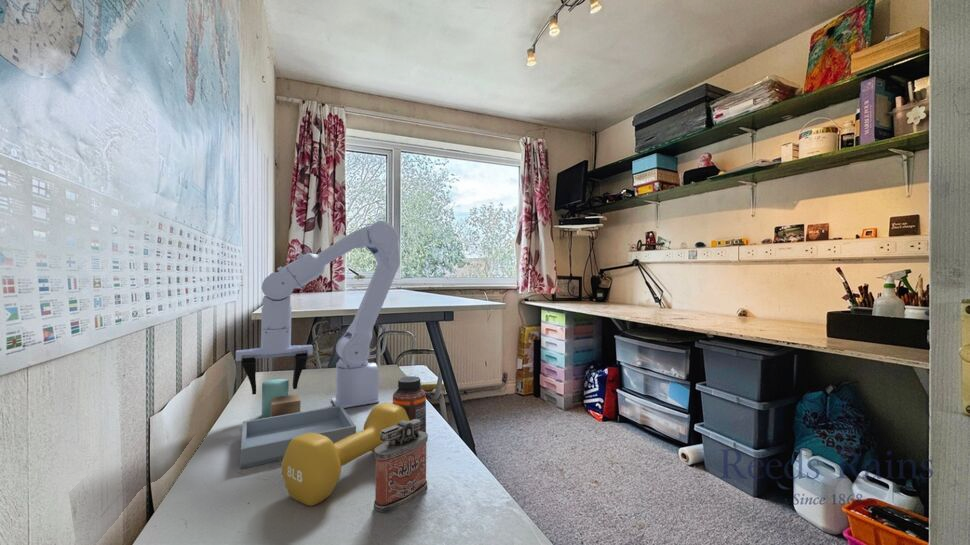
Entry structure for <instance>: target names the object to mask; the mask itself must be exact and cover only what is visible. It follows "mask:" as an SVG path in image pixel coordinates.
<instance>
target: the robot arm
mask: <svg viewBox="0 0 970 545" xmlns="http://www.w3.org/2000/svg"><path fill="white" fill-rule="evenodd" d="M364 248H367V249H368V251H370V252H371V254H372V255H373V257H374V259H375V262H376V263H377V266H376V268H375V270H374V272H373V275H372V277H371V280H370V281H369V284H368V286H367V289H366V290H365V293H364V296H363V297H362V300H361V301H360V304H359V307H358V309H357V312H356V313H355V315H354V318H353V321H352V322H351V324H350V325H349V326H348V327H347V330H346V332H345V333H344V334H343V336H342V337H340V338H339V339H338V340H337V342H336V345H335V351H336V354H337V356H338V357H339V359H338V361H337V362H336V363H335V364H336V366H335V397H332V398H331V402H332V404H334V406H339V405H342V407H343V408H344V409H347V408H351V407H358V406H363V405H370V404H375V403H380V399H379V378H380V377H379V367H378V365H377V363H376V362H369V360H368V359H369V358H370V354H371V349H370V347H371V342H372V339H373V329H374V326H375V324H376V322H377V319H378V317H379V315H380V312H381V309H382V308H383V305H384V302H385V300H386V298H387V296H388V293H389V291H390V288H391V286H392V284H393V282H394V279H395V277H396V274H397V272H398V269H399V266H400V264H401V257H400V251H399V235H398V234H397V231H396V230H395V228H394V226H393V225H392V224H391V223H390V222H387V221H386V220H385V221H384V220H378V221H376V222H374V223H373V224H372V223H371V225H367V226H364V227H362V228H359V229H357V230H354V231H352V232H350V233H349V234H346V236H344V237H343V238H341V239H339V240H338V241H336V242H335V243H333V244H331V245H330V246H328V247H327V248H325V249H323V250H322V251H320V252H319V253H316V254H315V253H311V252H307V253H305V254H303V253H300V254H299V255H297V256H296V258H297V259H295V260H293V261H292V262H290V263H287V265H285V266H283V267H282V266H279V267H277V269H276V270H277V272H271V273H270V274H269V275H267V276H266V277H265V278H264V280H263V281H262V285H261V290H262V293H263V294H264V295H263V298H262V302H261V304H262V307H261V320H260V321H261V323H260V325H261V326H260V329H261V330H260V332H261V333H260V347H255V348H250V349H249V348H247V349H239V350H235V362H240V361H241V366H242V368H243V370H244V372H245V373H246V375H247V378H248V380H249V383H250V387H251V394H252V395H256V394H257V380H256V379H257V378H256V377H257V376H256V373H257V372H256V371H257V365H256V364H257V360H258V359H271V358H281V357H292V356H293V373H292V374H293V375H292V389H293V390H297V389H298V384H299V380H300V376H301V375H302V371H303V369H304V368H305V366H306V363H307V362H308V358H309V356H310V355H313V354H314V346H313V345H312V344H303V345H302V344H301V345H297V344H296V345H295V344H294V345H291V344H292V342H291V341H292V306H291V295H292V294H293V292H294V289H298V290H299V289H301V288H302V287H304V286H305V285H307V284H309V283H310V282H311V281H313V280H315V279H317V278H318V277H320V276H322V275H323V274H324V272H325V267H326V265H328V264H330V263H332V262H333V261H335V260H337V259H338V258H340V257H342V256H343V255H345V254H347V253H349V252H350V251H352V250H354V249H364Z"/></svg>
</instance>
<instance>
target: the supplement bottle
mask: <svg viewBox="0 0 970 545" xmlns="http://www.w3.org/2000/svg"><path fill="white" fill-rule="evenodd" d="M397 381H398V382H397V387H398V388H397V389H396V390H395V391H394V392H393V394H392V404H396V405H399V406H402V407H403V408H404V409H405V411H406V413H407V415H408V418H409V420H410V421H411V420H413V419H419V420H420V428H419V431H423V432H426V433H427V398H426V397H427V394H426V391H425V390H424V388H422V387H421V384H422V383H421V377H419V376H410V375H409V376H404V377H400V378H398V380H397Z"/></svg>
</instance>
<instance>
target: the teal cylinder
mask: <svg viewBox="0 0 970 545" xmlns="http://www.w3.org/2000/svg"><path fill="white" fill-rule="evenodd" d="M289 383H290V382H289V379H287V378H286V379H285V378H276V379H275V378H274V379H269V380H266V381H263V382H261V385H262V386H261V418H262V417H263V418H268V417H271V398H274V397H281V396H288V395H289Z"/></svg>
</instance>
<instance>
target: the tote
mask: <svg viewBox="0 0 970 545" xmlns="http://www.w3.org/2000/svg"><path fill="white" fill-rule="evenodd" d="M241 431H242V432H241V433H242V434H241V440H240V441H241V444H240V470H242V469H247V468H251V467H256V466H260V465H265V464H269V463H273V462H278V461H282V460H283V457H284V455H285V452H286V450H287V447H288V445H289V443H290V442H291V440H292V439H293V438H295V437H298V436H300V435H303V434H306V433H317V434H321V435H324V436H326V437H328V438H329V439H331V440H332V442H333V444H334V443H336V442H338V441H340V440H342V439H344V438H346V437H348V436H350V435H353V434H355V433H357V426H356V424H355V422H354V421H353V420H352V418H351V417H350V415H349V414H348V413H347V411H346V410H345V408H343V407H342V405H339V406H335V405H334V406H328V407H322V408H317V409H311V410H303V411H300V412H298V413H292V414H286V415H280V416H274V417H268V418H262V417H261V418H257V419H250V420H245V421H243V422H242V430H241Z"/></svg>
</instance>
